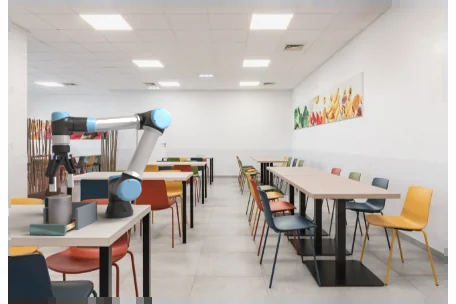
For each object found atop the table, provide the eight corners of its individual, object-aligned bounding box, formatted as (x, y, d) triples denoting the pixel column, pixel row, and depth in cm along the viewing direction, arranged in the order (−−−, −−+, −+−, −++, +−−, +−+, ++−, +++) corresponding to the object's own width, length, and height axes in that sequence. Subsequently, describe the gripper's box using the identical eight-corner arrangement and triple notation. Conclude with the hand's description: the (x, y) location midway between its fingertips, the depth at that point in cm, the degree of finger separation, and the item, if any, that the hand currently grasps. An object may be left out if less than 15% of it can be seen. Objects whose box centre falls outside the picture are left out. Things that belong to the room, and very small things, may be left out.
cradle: (66, 220, 159) (66, 201, 159) (97, 220, 158) (96, 201, 158) (43, 229, 141) (43, 208, 141) (78, 229, 140) (77, 208, 140)
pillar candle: (62, 221, 148) (61, 191, 147) (76, 223, 144) (76, 192, 144) (43, 226, 139) (42, 194, 138) (58, 228, 135) (57, 195, 135)
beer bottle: (42, 216, 168) (42, 174, 168) (46, 213, 175) (46, 173, 175) (57, 215, 170) (57, 173, 170) (61, 213, 178) (61, 172, 177)
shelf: (55, 224, 149) (55, 215, 149) (86, 224, 148) (86, 215, 148) (29, 234, 131) (29, 224, 131) (64, 234, 130) (64, 224, 130)
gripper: (68, 144, 154) (70, 185, 154) (34, 144, 129) (36, 193, 129) (83, 144, 153) (84, 185, 154) (51, 144, 128) (52, 193, 129)
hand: (62, 189), depth 141 cm, fingers open, 13 cm apart
